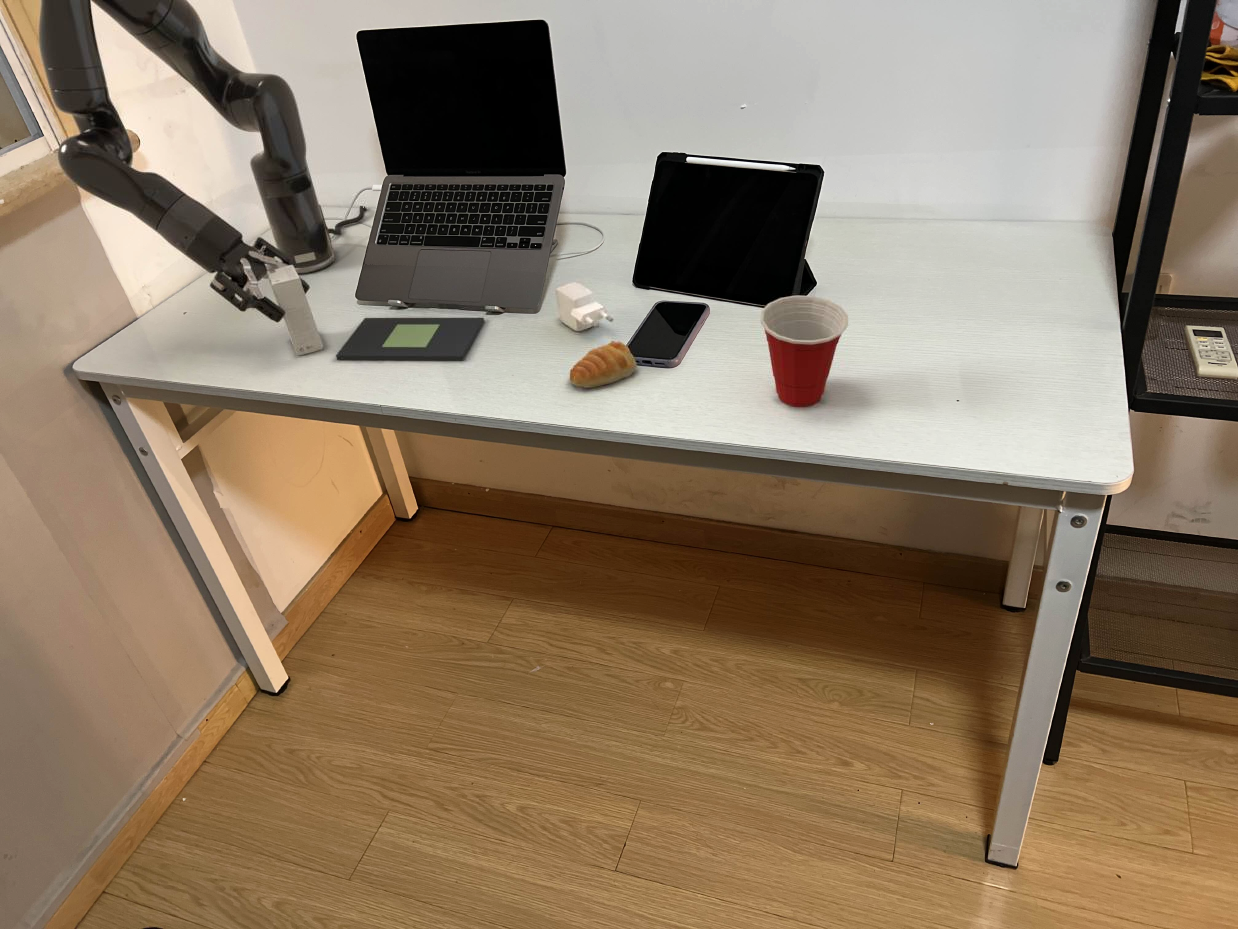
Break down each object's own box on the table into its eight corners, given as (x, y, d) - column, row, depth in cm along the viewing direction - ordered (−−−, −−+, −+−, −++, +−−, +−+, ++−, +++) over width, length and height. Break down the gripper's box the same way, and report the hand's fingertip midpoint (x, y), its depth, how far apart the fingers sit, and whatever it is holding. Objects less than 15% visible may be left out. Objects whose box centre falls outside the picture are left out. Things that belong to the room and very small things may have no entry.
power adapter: (620, 337, 137) (617, 302, 134) (593, 348, 136) (589, 313, 132) (581, 311, 145) (577, 277, 142) (555, 321, 143) (550, 287, 140)
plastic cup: (787, 428, 115) (790, 345, 108) (743, 388, 123) (743, 308, 116) (859, 404, 118) (867, 321, 111) (812, 366, 126) (817, 287, 119)
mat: (366, 321, 149) (364, 316, 148) (484, 321, 145) (483, 316, 145) (337, 360, 139) (335, 354, 139) (463, 360, 136) (461, 355, 135)
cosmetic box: (325, 349, 142) (302, 277, 135) (296, 357, 141) (271, 285, 134) (317, 333, 147) (295, 262, 140) (289, 340, 146) (265, 270, 138)
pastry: (588, 398, 125) (585, 373, 123) (559, 380, 129) (556, 356, 127) (641, 371, 129) (639, 347, 127) (611, 355, 134) (609, 332, 131)
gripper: (184, 236, 127) (285, 310, 132) (234, 198, 138) (325, 268, 143) (164, 272, 131) (262, 343, 136) (214, 232, 142) (303, 299, 147)
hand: (294, 304), depth 140 cm, fingers open, 8 cm apart
